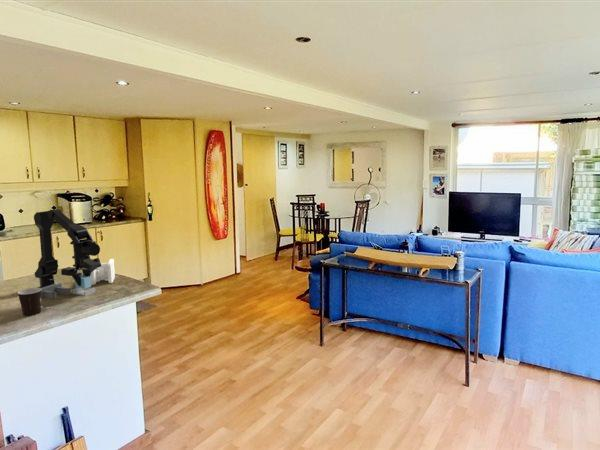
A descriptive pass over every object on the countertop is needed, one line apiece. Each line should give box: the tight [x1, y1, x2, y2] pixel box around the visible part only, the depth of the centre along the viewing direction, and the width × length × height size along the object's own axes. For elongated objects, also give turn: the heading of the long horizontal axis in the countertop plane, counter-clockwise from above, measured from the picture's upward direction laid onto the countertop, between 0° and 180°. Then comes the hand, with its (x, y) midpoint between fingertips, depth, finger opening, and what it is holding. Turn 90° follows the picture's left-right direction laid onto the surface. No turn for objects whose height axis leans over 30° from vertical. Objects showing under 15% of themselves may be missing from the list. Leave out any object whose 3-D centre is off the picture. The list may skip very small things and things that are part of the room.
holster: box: [71, 287, 96, 296], centre depth 206 cm, size 9×6×3 cm
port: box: [40, 282, 72, 301], centre depth 202 cm, size 11×12×6 cm
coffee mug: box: [17, 287, 42, 317], centre depth 180 cm, size 12×9×10 cm
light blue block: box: [74, 274, 92, 290], centre depth 205 cm, size 6×4×6 cm, turn 70°
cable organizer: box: [90, 258, 116, 286], centre depth 225 cm, size 15×11×12 cm
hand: (83, 284), depth 206 cm, fingers closed on light blue block, 4 cm apart
